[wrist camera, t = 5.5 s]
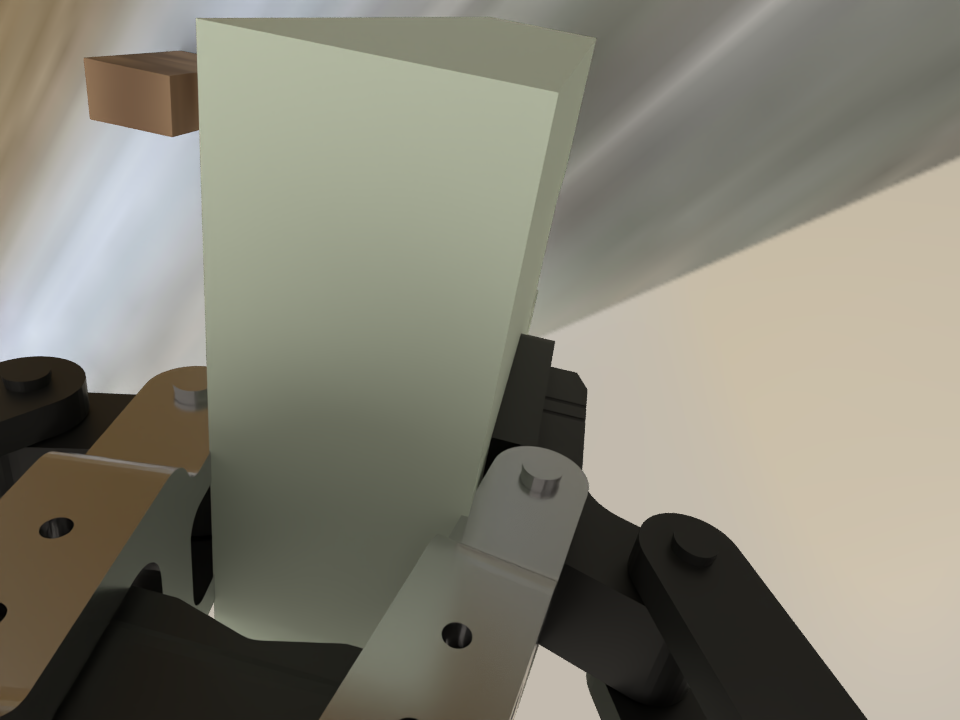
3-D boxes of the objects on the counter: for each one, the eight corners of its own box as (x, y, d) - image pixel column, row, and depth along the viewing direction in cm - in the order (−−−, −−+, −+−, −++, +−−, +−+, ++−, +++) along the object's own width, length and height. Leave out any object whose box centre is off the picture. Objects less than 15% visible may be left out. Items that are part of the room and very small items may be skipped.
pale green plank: (490, 16, 19) (196, 18, 5) (596, 38, 18) (558, 91, 5) (435, 363, 24) (219, 787, 11) (516, 383, 24) (398, 841, 11)
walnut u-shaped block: (182, 101, 34) (90, 119, 28) (180, 50, 33) (83, 57, 27) (407, 149, 33) (362, 178, 27) (413, 99, 32) (368, 117, 26)
